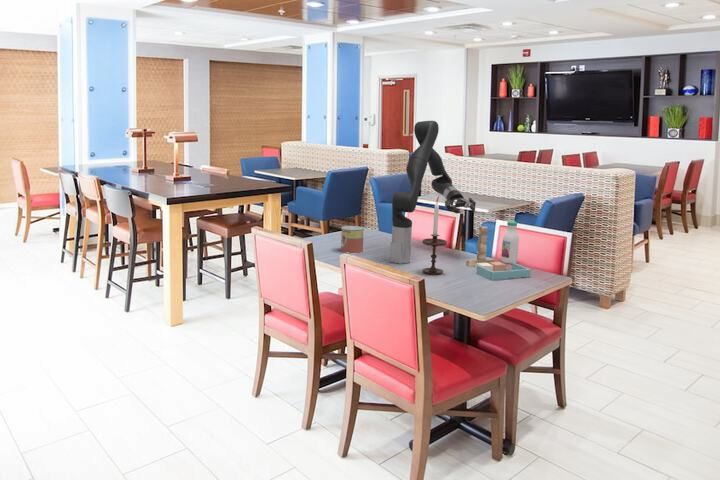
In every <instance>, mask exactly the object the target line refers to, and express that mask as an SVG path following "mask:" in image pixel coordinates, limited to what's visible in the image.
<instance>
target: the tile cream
mask: <svg viewBox="0 0 720 480" xmlns="http://www.w3.org/2000/svg"><path fill="white" fill-rule="evenodd" d="M477 265H479V266H481V267H484V268H486V269H488V270H490V271H492V272H494V270H493V265H491V264H489V263H476V266H475V269H476V270H477Z"/></svg>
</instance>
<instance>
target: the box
mask: <svg viewBox="0 0 720 480" xmlns="http://www.w3.org/2000/svg"><path fill="white" fill-rule="evenodd" d="M511 264H512V266H511V270H503V271H490V270H488V269H486V268H484V267H481V266H479V265H477V269H476V274H478V275H479V276H481V277H484V278H486V279H487V280H490V281H498V280H499V279H501V280H510V279H509V278H514V279H522V278H521V277H526V278H531V272H532V270H531V269H530V268H528V267H525V266H523V265H521V264H518V263H511Z"/></svg>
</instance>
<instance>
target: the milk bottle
mask: <svg viewBox="0 0 720 480" xmlns="http://www.w3.org/2000/svg"><path fill="white" fill-rule="evenodd" d="M506 226H507V228H506V230H505V233H504V234H503V237H502V244H501V257H500V262H501V263H504V264H512V263H516V264H518V256H519V247H520V246H519V244H520V238H519V237H520V236H519V234H518V233H519V232H518V230H517V227H518V221H513V220H509V221H507V225H506Z"/></svg>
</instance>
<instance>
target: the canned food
mask: <svg viewBox="0 0 720 480" xmlns="http://www.w3.org/2000/svg"><path fill="white" fill-rule="evenodd" d="M364 229H365V227H362V226H358V225H345V226H341V234H340V235H341V243H340V252H341V251H342V252H341V253H344V254H347V253H346V252H349V253H348V254H350V255H351V253H357V254H361V252H362V253H364V231H365V230H364Z"/></svg>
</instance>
